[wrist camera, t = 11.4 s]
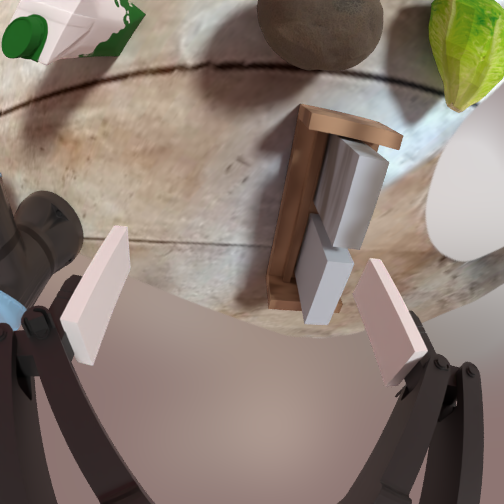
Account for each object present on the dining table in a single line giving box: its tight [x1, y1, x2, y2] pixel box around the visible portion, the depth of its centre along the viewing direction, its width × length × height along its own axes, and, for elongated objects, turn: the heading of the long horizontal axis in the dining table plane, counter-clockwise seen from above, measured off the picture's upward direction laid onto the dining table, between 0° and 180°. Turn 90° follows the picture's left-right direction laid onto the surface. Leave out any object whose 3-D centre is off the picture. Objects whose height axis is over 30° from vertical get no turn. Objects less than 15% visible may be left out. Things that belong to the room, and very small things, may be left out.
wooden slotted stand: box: [266, 104, 403, 313], centre depth 41 cm, size 12×30×14 cm, turn 172°
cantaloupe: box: [257, 0, 383, 71], centre depth 24 cm, size 14×14×15 cm
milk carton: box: [1, 0, 146, 65], centre depth 21 cm, size 9×9×20 cm
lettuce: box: [429, 0, 504, 113], centre depth 25 cm, size 14×20×12 cm
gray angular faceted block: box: [294, 213, 354, 325], centre depth 43 cm, size 4×11×12 cm, turn 172°
